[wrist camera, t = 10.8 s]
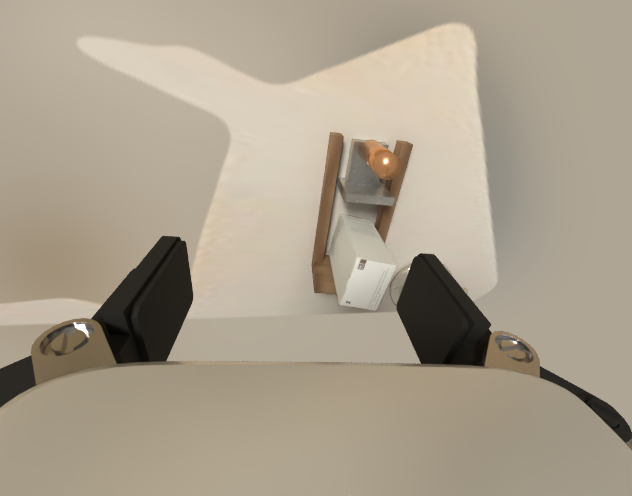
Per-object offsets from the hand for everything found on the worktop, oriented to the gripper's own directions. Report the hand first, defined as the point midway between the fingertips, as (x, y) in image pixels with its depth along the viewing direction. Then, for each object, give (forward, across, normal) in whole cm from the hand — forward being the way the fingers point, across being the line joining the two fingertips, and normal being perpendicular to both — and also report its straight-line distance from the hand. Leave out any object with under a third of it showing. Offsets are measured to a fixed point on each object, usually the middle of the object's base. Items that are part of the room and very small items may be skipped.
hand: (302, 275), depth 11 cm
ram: (+33, -11, +3) cm, 35 cm away
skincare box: (+34, -11, +16) cm, 39 cm away
